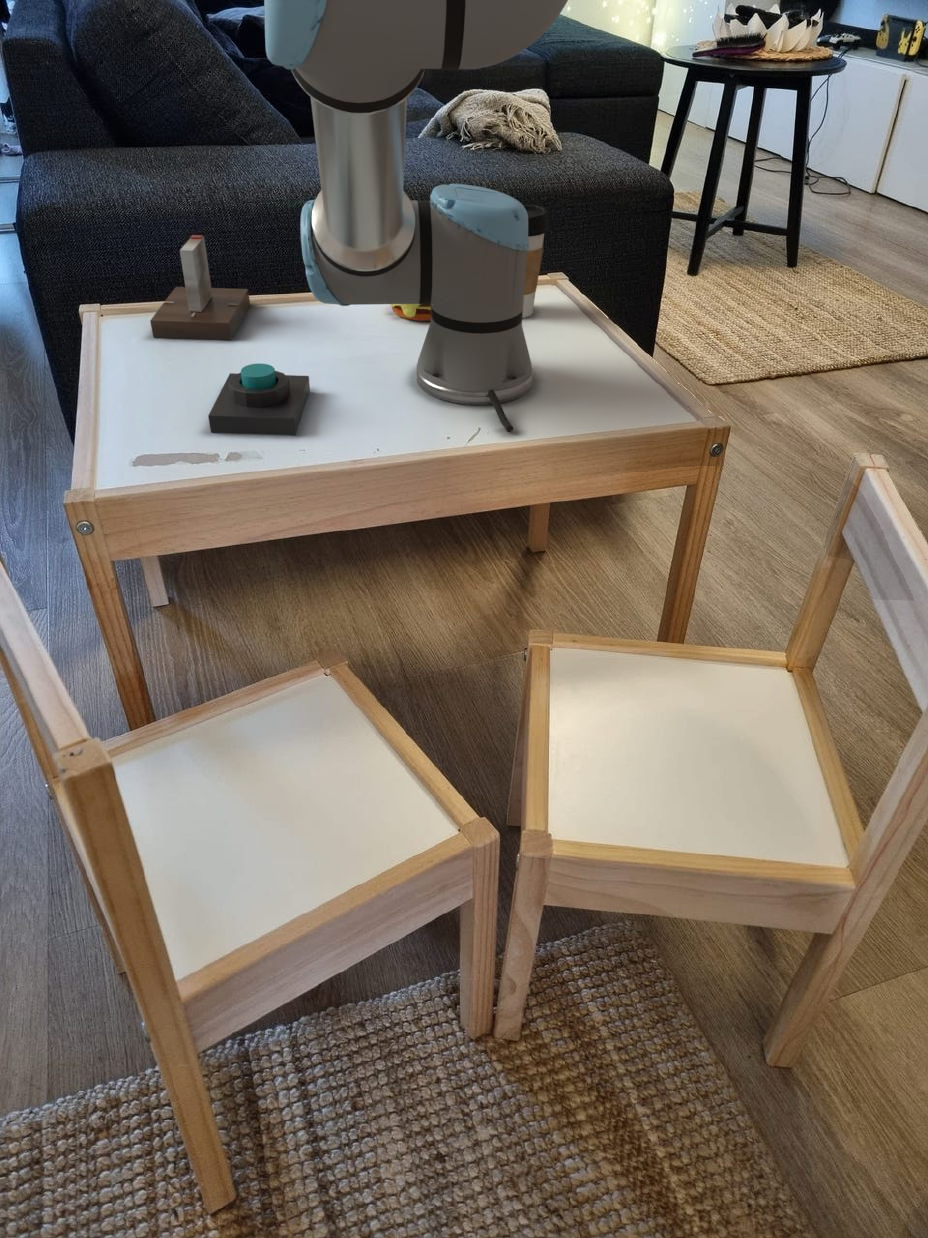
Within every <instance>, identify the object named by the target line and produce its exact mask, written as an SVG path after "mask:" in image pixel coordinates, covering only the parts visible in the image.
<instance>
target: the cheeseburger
mask: <svg viewBox="0 0 928 1238" xmlns="http://www.w3.org/2000/svg"><path fill="white" fill-rule="evenodd" d="M390 306H391V309H392V312H393V313H394V314H395V315H397V316H399V317H400V318H404V319H406V320H413V321H418V322H420V321H429V322H431V304H390Z"/></svg>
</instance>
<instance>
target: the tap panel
mask: <svg viewBox="0 0 928 1238" xmlns="http://www.w3.org/2000/svg"><path fill="white" fill-rule="evenodd" d="M211 289H212V298H211V299H210V300H209V302H208V303H207V305H206V306H205V308H204V309H203V311H202V312H193V311H189V306H188V299H187V293H186V287H185V286H175V287H174V289H172V291H171V293H170V294H169V295H168V297H167V298H166V299H165V300H164V302H163V303H162V305H160V307H159V308H158V310H157V311H156V312H155V314H154V315H153V316H152V318H151V319H150V320H149V322H150V327H151V333H152V338H154V339H180V340H181V339H182V340H183V339H184V340H208V341H209V340H214V341H232V339H233V337H234V335H235V334H236V332H237V330H238V328H239V326H240V324H241V323H242V321H243V319H244V318H245V315H246V314H247V312H248V310H249V308H250V306H251V301H250V293H249V289H248V288H227V287H226V288H225V287H224V288H223V287H211Z"/></svg>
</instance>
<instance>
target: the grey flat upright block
mask: <svg viewBox="0 0 928 1238" xmlns="http://www.w3.org/2000/svg"><path fill="white" fill-rule="evenodd" d="M179 255H180V260H181V261H180V262H181V266H182V272H183V279H184V287H186V293H187V299H188V306H189V311H193V312H202V311H203V309H204V308H205V306H206V305H207V303H208V302H209V300H210V299H211V298H212V289H211V288H212V283H211V275H210V270H209V268H210V267H209V261H208V254H207V248H206V239H205V237H204V235H201V234H200V235H199V234H192V235H191V236H190V238H189V239H188V240H187V241H186V242H185V243H184V244H183V246H182V247H181V248H180V249H179Z"/></svg>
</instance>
